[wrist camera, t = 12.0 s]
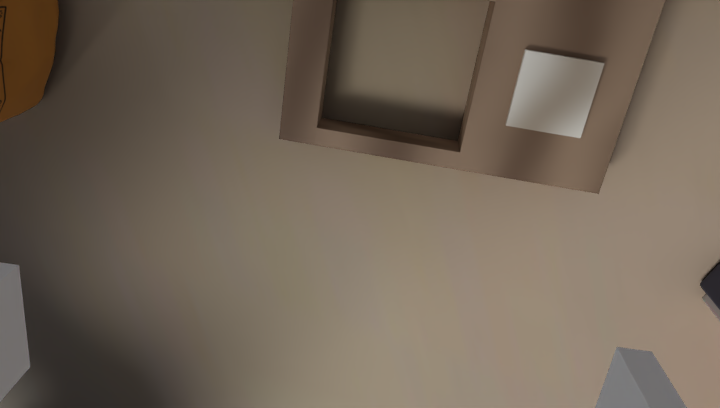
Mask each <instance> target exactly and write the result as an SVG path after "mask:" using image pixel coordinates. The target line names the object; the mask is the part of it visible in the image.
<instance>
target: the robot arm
mask: <svg viewBox="0 0 720 408" xmlns="http://www.w3.org/2000/svg"><path fill="white" fill-rule="evenodd" d="M29 368H30V359H29V350H28V341H27V332H26V323H25V314H24V305H23V296H22V287H21V278H20V269H19V265H16V264H8V263H1V262H0V402H1V400H2V399H3V398H4V397H5V396H6V395H7V393H8V392H9V391H10V390H11V389H12V388H13V386H14V385H15V384H16V383H17V382H18V381H19V379H20V378H21V377H22V376H23V375H24V374H25V373H26V371H27V370H28V369H29ZM595 408H687V407H686V406H685V404H684V402H683V401H682V399H681V398H680V396H679V394H678V393H677V391H676V390H675V388H674V386H673V385H672V383H671V382H670V380H669V378H668V377H667V375H666V374H665V372H664V370H663V369H662V367H661V366H660V364H659V362H658V361H657V359H656V358H655V356H654V354H653V353H652V352H650V351H643V350H636V349H628V348H621V347H617V348H616V351H615V354H614V356H613V359H612V362H611V365H610V368H609V370H608V373H607V376H606V379H605V382H604V384H603V387H602V390H601V393H600V396H599V398H598V401H597V404H596V407H595Z"/></svg>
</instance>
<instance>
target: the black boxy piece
mask: <svg viewBox="0 0 720 408" xmlns="http://www.w3.org/2000/svg"><path fill="white" fill-rule="evenodd" d="M700 286H701V288H702V289H703V290H704V291H705V293H706V294H705V295H704V296H703V297H702V299H703V301H704V302H705V303H706V305H707V306H708V307H709V308H710V310H711V311H712V312H713V313H714V315H715V316H716V317H717V319H718V320H719V321H720V263H719V264H718V265H717V266H716V267H715V268H714V269H713V270H712V271H711V272H710V274H709V275H708V276H707V277H706V278H705V279H704V280H703V281H702V282H701V283H700Z"/></svg>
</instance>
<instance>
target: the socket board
mask: <svg viewBox="0 0 720 408" xmlns="http://www.w3.org/2000/svg"><path fill="white" fill-rule="evenodd" d="M488 1H490V4H489V8H488V12H487V17H486V21H485V25H484V30H483V34H482V38H481V43H480V47H479V51H478V55H477V60H476V64H475V68H474V73H473V77H472V81H471V86H470V90H469V94H468V99H467V103H466V107H465V112H464V116H463V120H462V125H461V129H460V133H459V138H458V141H454V140H449V139H443V138H437V137H431V136H425V135H419V134H414V133H408V132H402V131H396V130H390V129H384V128H378V127H373V126H367V125H361V124H355V123H349V122H343V121H338V120H332V119H326V118H322V111H323V103H324V96H325V88H326V80H327V73H328V65H329V57H330V50H331V42H332V34H333V27H334V19H335V11H336V4H337V0H293V8H292V18H291V28H290V37H289V47H288V57H287V67H286V77H285V87H284V96H283V106H282V116H281V126H280V136H279V139H283V140H289V141H295V142H300V143H306V144H312V145H318V146H324V147H329V148H335V149H341V150H347V151H353V152H359V153H364V154H370V155H376V156H382V157H388V158H394V159H399V160H405V161H411V162H417V163H423V164H428V165H434V166H440V167H446V168H452V169H458V170H463V171H469V172H475V173H481V174H487V175H493V176H498V177H504V178H510V179H516V180H522V181H527V182H533V183H539V184H545V185H551V186H557V187H562V188H568V189H574V190H580V191H586V192H591V193H597V194H599V191H600V188H601V185H602V182H603V179H604V177H605V174H606V171H607V168H608V165H609V162H610V159H611V156H612V153H613V151H614V148H615V145H616V142H617V139H618V136H619V133H620V130H621V127H622V125H623V122H624V119H625V116H626V113H627V110H628V107H629V104H630V101H631V99H632V96H633V93H634V90H635V87H636V84H637V81H638V78H639V75H640V73H641V70H642V67H643V64H644V61H645V58H646V55H647V52H648V49H649V47H650V44H651V41H652V38H653V35H654V32H655V29H656V26H657V23H658V21H659V18H660V15H661V12H662V9H663V6H664V3H665V0H488Z"/></svg>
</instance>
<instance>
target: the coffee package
mask: <svg viewBox="0 0 720 408" xmlns="http://www.w3.org/2000/svg"><path fill="white" fill-rule="evenodd" d="M58 19H59V8H58V0H0V122H2V121H4V120H7V119H9V118H11V117H14V116H16V115H19V114H21V113H23V112H24V111H26V110H28V109H30V108H32V107H34V106H35V105H37V104H38V103H39V102H40V100H41V99H42V97H43V94H44V89H45V85H46V82H47V79H48V77H49V74H50V71H51V68H52V65H53V59H54V54H55V39H56V33H57V29H58Z"/></svg>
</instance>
